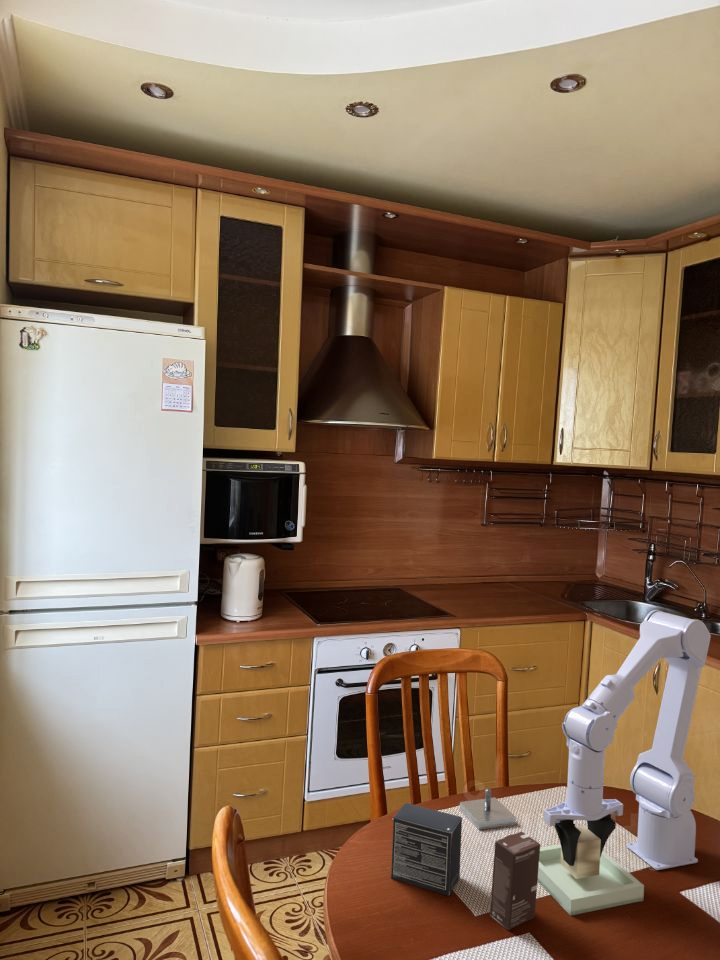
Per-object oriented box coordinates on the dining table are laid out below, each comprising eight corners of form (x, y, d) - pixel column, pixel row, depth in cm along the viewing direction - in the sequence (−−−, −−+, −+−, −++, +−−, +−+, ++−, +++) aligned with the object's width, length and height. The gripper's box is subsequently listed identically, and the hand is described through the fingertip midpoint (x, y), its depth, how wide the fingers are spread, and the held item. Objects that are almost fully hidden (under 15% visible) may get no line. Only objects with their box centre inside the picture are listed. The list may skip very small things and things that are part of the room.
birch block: (582, 859, 119) (583, 825, 119) (599, 874, 115) (600, 839, 114) (560, 863, 117) (561, 829, 117) (576, 879, 113) (578, 843, 113)
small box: (461, 876, 116) (464, 815, 116) (450, 897, 110) (452, 833, 110) (403, 858, 120) (405, 800, 120) (389, 878, 115) (391, 817, 114)
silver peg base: (494, 804, 141) (495, 778, 141) (515, 824, 133) (516, 796, 133) (459, 809, 138) (460, 782, 138) (478, 830, 131) (480, 801, 131)
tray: (588, 852, 125) (589, 839, 124) (643, 900, 111) (644, 885, 111) (521, 864, 120) (522, 850, 120) (570, 915, 107) (571, 899, 107)
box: (510, 933, 102) (514, 854, 102) (488, 915, 106) (492, 839, 106) (538, 919, 106) (541, 842, 105) (516, 903, 109) (519, 829, 109)
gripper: (605, 766, 121) (601, 841, 122) (534, 775, 117) (531, 853, 117) (633, 784, 115) (629, 864, 115) (559, 794, 110) (555, 877, 110)
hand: (581, 860), depth 116 cm, fingers closed on birch block, 4 cm apart
